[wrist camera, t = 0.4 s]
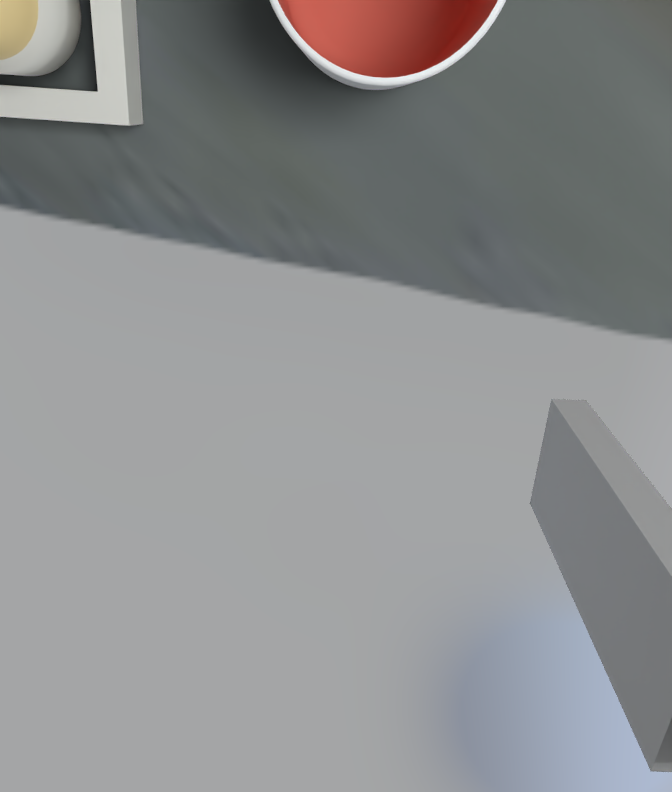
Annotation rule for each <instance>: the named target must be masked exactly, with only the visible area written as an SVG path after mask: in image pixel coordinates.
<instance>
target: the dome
mask: <svg viewBox="0 0 672 792" xmlns="http://www.w3.org/2000/svg"><path fill="white" fill-rule="evenodd" d="M80 31H81V9H80V3H79V0H0V74H7V75H19V76H41V75H45V74H48V73H51V72H53V71H55V70H57V69H58V68H59V67H61V66H62V65H63V64H64V63H65V62H66V61H67V60H68V59H69V58H70V56H71V55H72V53H73V51H74V50H75V48H76V45H77V42H78V40H79V35H80Z"/></svg>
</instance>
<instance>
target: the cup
mask: <svg viewBox="0 0 672 792" xmlns="http://www.w3.org/2000/svg"><path fill="white" fill-rule="evenodd" d="M505 1H506V0H270V3H271V5H272V8H273V10H274V12H275V13H276V15H277V17H278V19H279V21H280V23H281V24H282V26H283V27H284V29H285V30H286V32H287V33H288V35H289V36H290V37H291V38H292V40H293V41H294V42H295V43H296V44H297V46H298V47H299V48H300V49H301V50H302V52H303V53H304V54H305V55H306V56H307V57H308V59H309V60H310V61H311V62H312V63H313V64H314V65H315V66H316V67H318V68H319V69H320V70H321V71H323V72H324V73H325V74H327V75H328V76H330V77H331V78H333V79H335V80H337V81H339V82H341V83H343V84H346V85H349V86H352V87H356V88H360V89H367V90H386V89H392V88H397V87H401V86H404V85H407V84H411V83H414V82H417V81H420V80H423V79H426V78H428V77H431V76H433V75H435V74H437V73H439V72H441V71H443V70H444V69H446V68H448V67H449V66H451V65H452V64H454V63H455V62H457V61H458V60H459V59H460V58H462V57H463V56H464V55H465V54H466V53H468V52H469V51H470V50H471V49H472V48H473V47H474V46H475V45H476V44H477V43H478V41H479V40H480V39H481V38H482V37H483V36H484V35H485V33H486V32H487V31H488V29H489V28H490V27H491V25H492V24H493V22H494V21H495V19H496V18H497V16H498V14H499V12H500V11H501V9H502V7H503V5H504V3H505Z"/></svg>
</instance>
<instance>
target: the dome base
mask: <svg viewBox="0 0 672 792" xmlns="http://www.w3.org/2000/svg"><path fill="white" fill-rule="evenodd" d="M90 5H91V17H92V29H93V40H94V52H95V64H96V76H97V87H98V91H83V90H69V89H55V88H40V87H26V86H12V85H0V117H13V118H27V119H41V120H56V121H70V122H85V123H99V124H114V125H128V126H130V125H140V124H143V114H142V97H141V80H140V63H139V46H138V30H137V13H136V0H90Z"/></svg>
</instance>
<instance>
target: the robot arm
mask: <svg viewBox="0 0 672 792" xmlns="http://www.w3.org/2000/svg"><path fill="white" fill-rule="evenodd" d="M530 504H531V506H532V509H533V511H534V513H535V515H536V517H537V520H538V522H539V524H540V526H541V529H542V531H543V533H544V535H545V537H546V539H547V542H548V544H549V546H550V549H551V551H552V553H553V555H554V557H555V559H556V562H557V564H558V566H559V569H560V571H561V573H562V575H563V577H564V579H565V581H566V584H567V586H568V588H569V591H570V593H571V595H572V597H573V599H574V602H575V604H576V606H577V608H578V610H579V613H580V615H581V617H582V619H583V622H584V624H585V626H586V628H587V630H588V633H589V635H590V637H591V639H592V642H593V644H594V646H595V648H596V651H597V653H598V655H599V657H600V659H601V662H602V664H603V666H604V668H605V671H606V673H607V675H608V677H609V679H610V682H611V684H612V686H613V688H614V690H615V693H616V695H617V697H618V699H619V702H620V704H621V706H622V708H623V710H624V712H625V715H626V717H627V719H628V721H629V724H630V726H631V728H632V730H633V733H634V735H635V737H636V739H637V741H638V744H639V746H640V748H641V750H642V752H643V755H644V757H645V759H646V761H647V763H648V766H649V768H650V770H651V771H657V772H658V771H659V772H672V509H671V507H670V506H669V505H668V504H667V502H666V501H665V500H664V499H663V497H662V496H661V495H660V493H659V492H658V491H657V490H656V488H655V487H654V486H653V485H652V484H651V482H650V481H649V479H648V478H647V477H646V476H645V474H644V473H643V472H642V471H641V469H639V467H638V465H637V464H636V463H635V462H634V461H633V459H632V458H631V457H630V456H629V454H628V453H627V452H626V450H625V449H624V448H623V447H622V445H621V444H620V443H619V441H618V440H617V439H616V438H615V436H614V435H613V434H612V433H611V431H610V430H609V429H608V427H607V426H606V425H605V424H604V422H603V421H602V420H601V419H600V417H599V416H598V415H597V413H596V412H595V411H594V410H593V409H592V407H591V406H590V405H589V403H588V402H587V401H586V400H565V399H551V403H550V408H549V414H548V418H547V423H546V428H545V433H544V438H543V442H542V447H541V453H540V457H539V462H538V467H537V472H536V477H535V481H534V487H533V491H532V496H531V501H530Z"/></svg>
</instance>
